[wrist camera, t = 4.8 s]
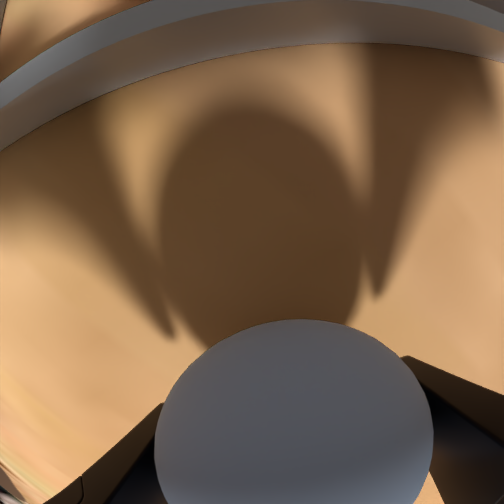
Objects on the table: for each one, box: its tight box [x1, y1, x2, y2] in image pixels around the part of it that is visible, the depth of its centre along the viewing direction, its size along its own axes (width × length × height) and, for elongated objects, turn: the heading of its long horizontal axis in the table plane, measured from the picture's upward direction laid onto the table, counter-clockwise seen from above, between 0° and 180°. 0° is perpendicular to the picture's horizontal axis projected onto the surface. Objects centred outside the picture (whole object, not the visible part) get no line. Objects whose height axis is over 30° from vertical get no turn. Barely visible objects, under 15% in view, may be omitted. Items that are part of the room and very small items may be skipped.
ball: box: [154, 319, 434, 504], centre depth 5 cm, size 6×6×6 cm
